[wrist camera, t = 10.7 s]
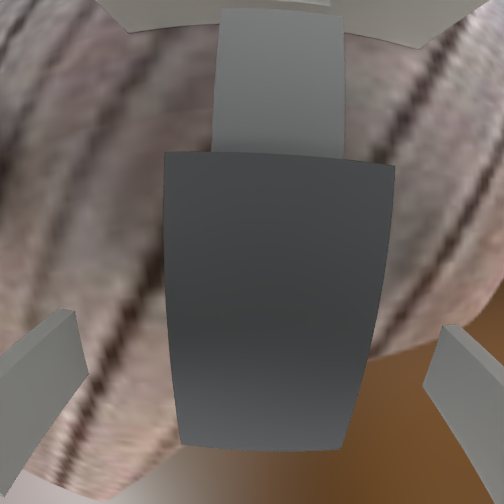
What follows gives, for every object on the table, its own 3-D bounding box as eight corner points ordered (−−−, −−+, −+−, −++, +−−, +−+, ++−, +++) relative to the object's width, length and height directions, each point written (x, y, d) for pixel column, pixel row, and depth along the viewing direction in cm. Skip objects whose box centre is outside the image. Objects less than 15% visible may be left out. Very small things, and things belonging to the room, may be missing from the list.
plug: (219, 61, 14) (184, -26, 6) (331, 67, 14) (385, -11, 6) (212, 398, 19) (191, 499, 11) (302, 401, 19) (318, 504, 11)
